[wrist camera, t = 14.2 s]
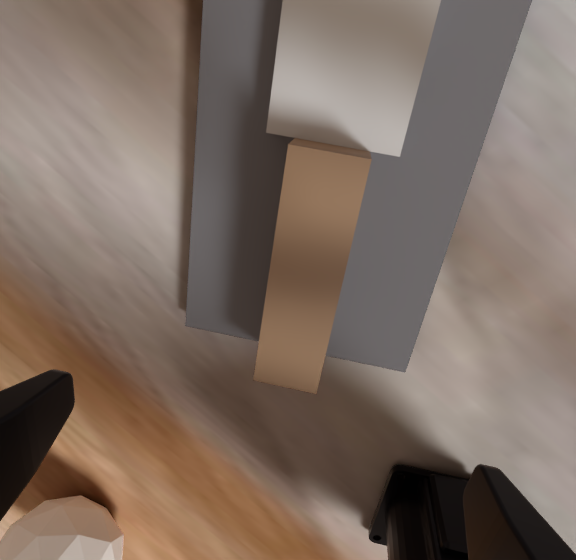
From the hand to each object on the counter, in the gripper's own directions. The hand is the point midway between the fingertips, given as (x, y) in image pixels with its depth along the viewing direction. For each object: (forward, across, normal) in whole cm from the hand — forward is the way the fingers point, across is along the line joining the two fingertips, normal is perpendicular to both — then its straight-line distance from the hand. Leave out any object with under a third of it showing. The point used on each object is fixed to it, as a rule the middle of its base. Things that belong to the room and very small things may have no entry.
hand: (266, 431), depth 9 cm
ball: (+12, +12, +23) cm, 28 cm away
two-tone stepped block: (+10, 0, -4) cm, 11 cm away
